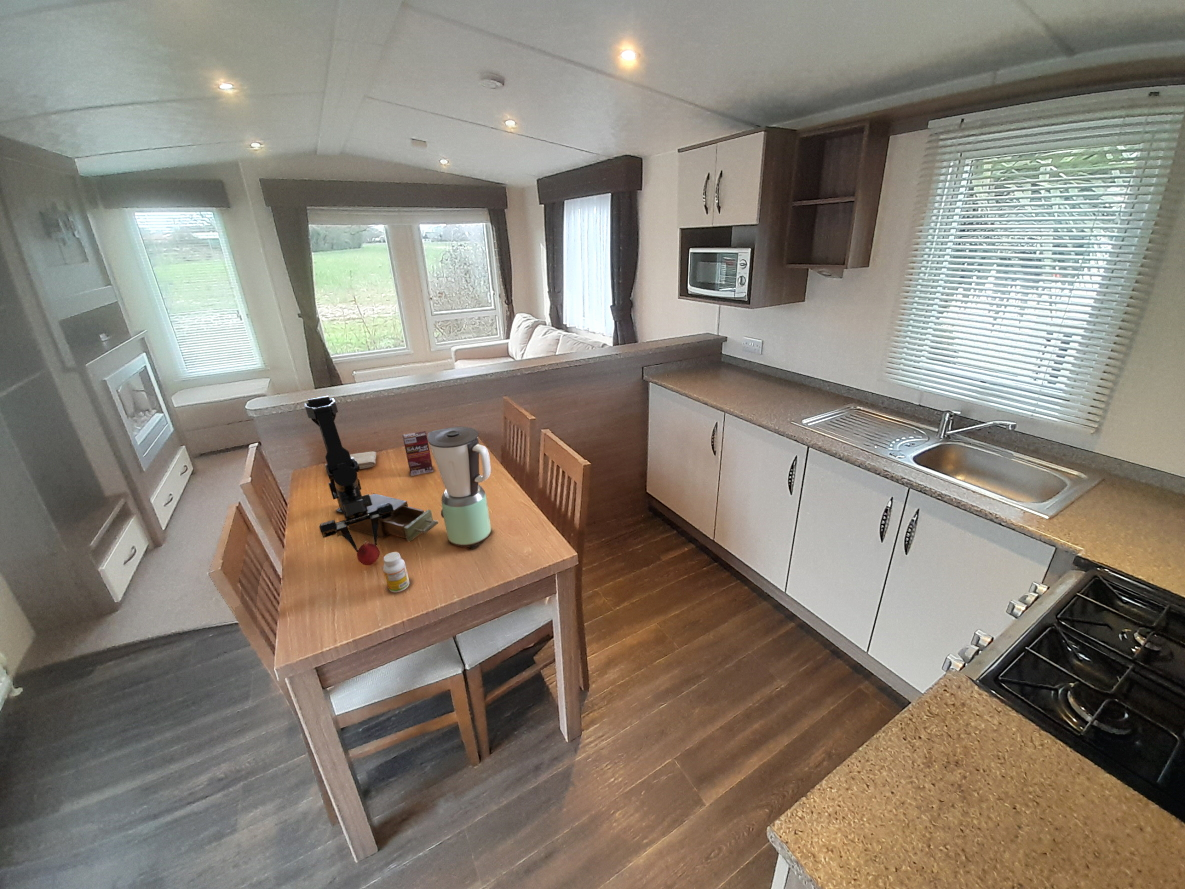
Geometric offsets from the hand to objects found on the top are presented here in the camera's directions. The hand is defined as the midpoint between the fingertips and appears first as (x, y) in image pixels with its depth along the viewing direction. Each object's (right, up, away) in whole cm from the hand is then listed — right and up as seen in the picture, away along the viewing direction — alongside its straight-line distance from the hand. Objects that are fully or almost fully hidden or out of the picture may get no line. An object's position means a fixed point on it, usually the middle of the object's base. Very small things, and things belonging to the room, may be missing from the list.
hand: (366, 548), depth 132 cm
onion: (-1, -6, +4) cm, 7 cm away
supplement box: (-4, +18, +54) cm, 57 cm away
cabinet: (-6, +3, +23) cm, 24 cm away
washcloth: (-35, +20, +62) cm, 73 cm away
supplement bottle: (+11, -9, -4) cm, 15 cm away
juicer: (+26, 0, +14) cm, 29 cm away
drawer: (+5, +2, +18) cm, 19 cm away
